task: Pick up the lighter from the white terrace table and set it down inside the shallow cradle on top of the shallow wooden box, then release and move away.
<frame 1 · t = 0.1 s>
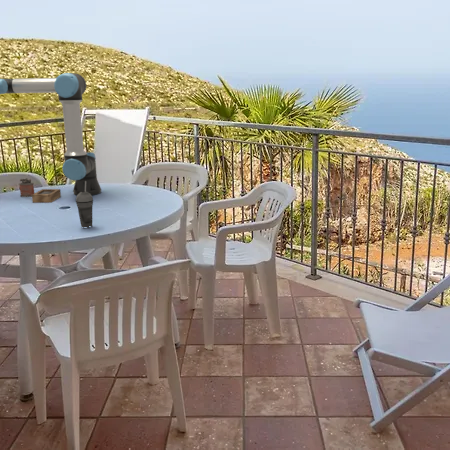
beverage cup: (87, 227, 219), on the table
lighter: (27, 196, 280), on the table
shallow wooden box: (47, 199, 272), on the table
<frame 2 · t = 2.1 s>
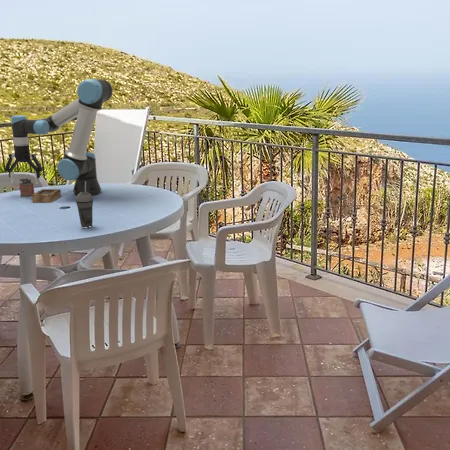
hand: (25, 183, 278), 7 cm above the table, tool pointing down, fingers open, 13 cm apart
nothing on the table moved.
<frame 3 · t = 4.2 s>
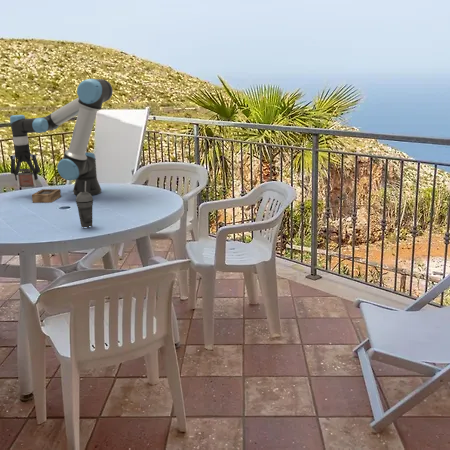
hand: (27, 185, 279), 6 cm above the table, tool pointing down, fingers closed on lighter, 8 cm apart
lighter: (27, 186, 279), point 5 cm above the table, touching gripper
everything else where it was.
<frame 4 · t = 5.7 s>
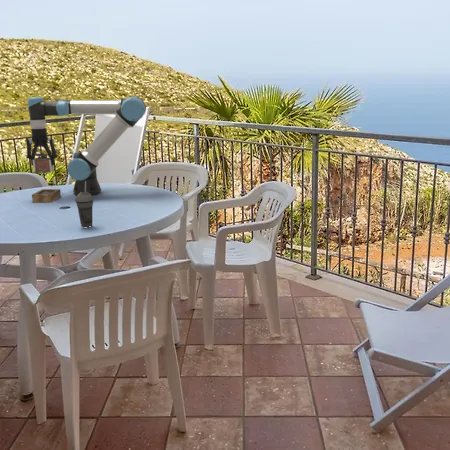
hand: (43, 171, 268), 15 cm above the table, tool pointing down, fingers closed on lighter, 8 cm apart
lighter: (43, 172, 268), point 15 cm above the table, touching gripper
everything else where it was.
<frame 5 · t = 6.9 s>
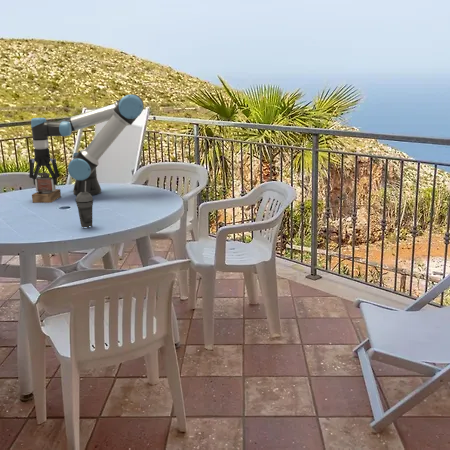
hand: (46, 190, 271), 5 cm above the table, tool pointing down, fingers closed on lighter, 8 cm apart
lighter: (46, 191, 271), point 4 cm above the table, touching gripper
everything else where it was.
when the fingers open (4 cm above the table, at t = 7.3 s): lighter stays where it is, resting on shallow wooden box.
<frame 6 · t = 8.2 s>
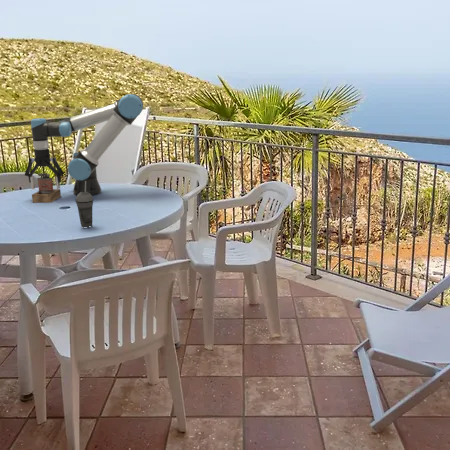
hand: (46, 188, 270), 6 cm above the table, tool pointing down, fingers open, 13 cm apart
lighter: (46, 192, 271), point 4 cm above the table, touching shallow wooden box
everything else where it was.
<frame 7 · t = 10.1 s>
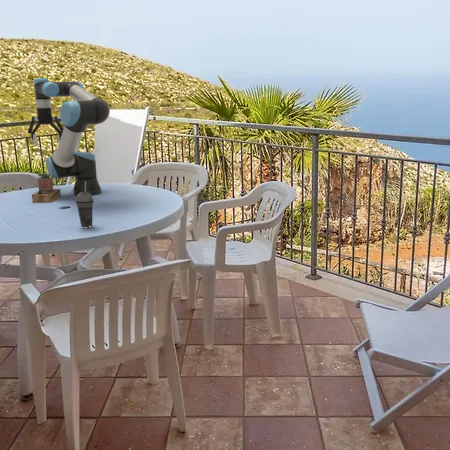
hand: (48, 146, 285), 26 cm above the table, tool pointing down, fingers open, 13 cm apart
nothing on the table moved.
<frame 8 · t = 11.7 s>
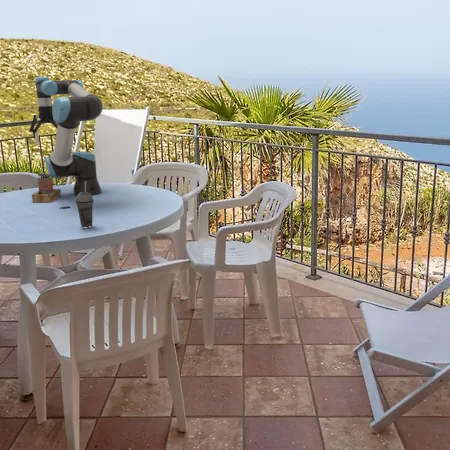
hand: (49, 144, 288), 27 cm above the table, tool pointing down, fingers open, 13 cm apart
nothing on the table moved.
at the end: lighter inside the target area on the shallow wooden box (0.0 cm from its centre), point 4.0 cm above the shallow wooden box's base; the gripper is holding nothing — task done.
